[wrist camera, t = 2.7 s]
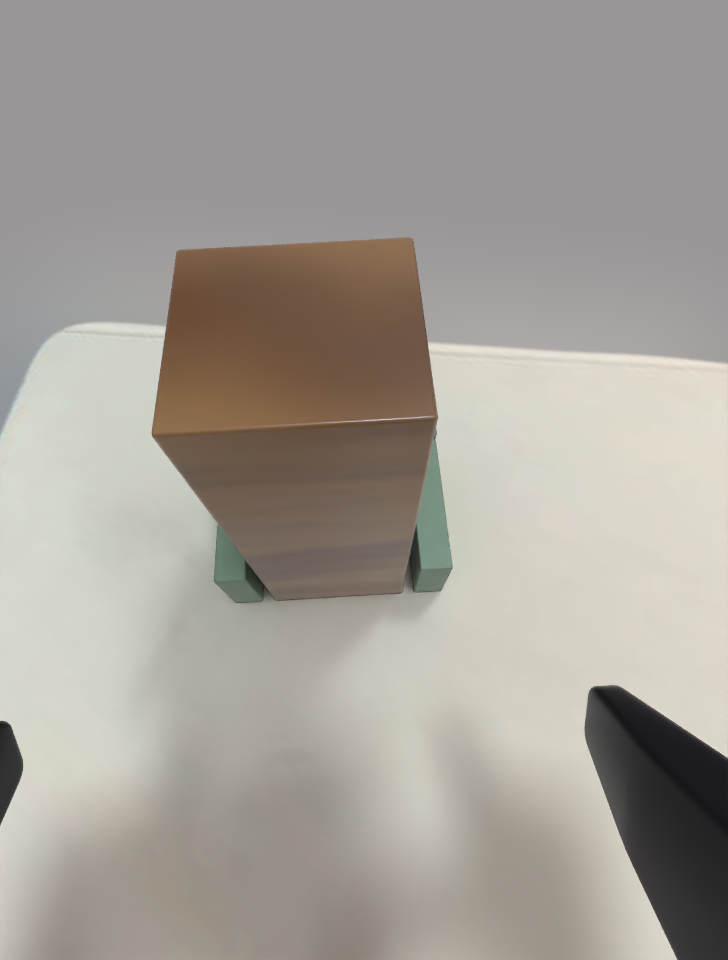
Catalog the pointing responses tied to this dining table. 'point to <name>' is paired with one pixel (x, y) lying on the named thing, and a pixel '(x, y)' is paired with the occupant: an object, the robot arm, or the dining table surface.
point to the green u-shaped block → (426, 552)
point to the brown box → (302, 407)
